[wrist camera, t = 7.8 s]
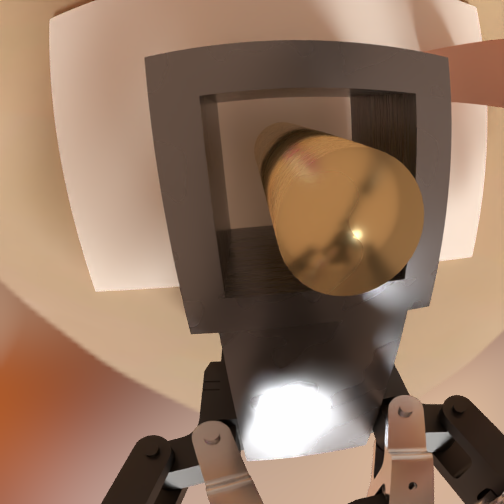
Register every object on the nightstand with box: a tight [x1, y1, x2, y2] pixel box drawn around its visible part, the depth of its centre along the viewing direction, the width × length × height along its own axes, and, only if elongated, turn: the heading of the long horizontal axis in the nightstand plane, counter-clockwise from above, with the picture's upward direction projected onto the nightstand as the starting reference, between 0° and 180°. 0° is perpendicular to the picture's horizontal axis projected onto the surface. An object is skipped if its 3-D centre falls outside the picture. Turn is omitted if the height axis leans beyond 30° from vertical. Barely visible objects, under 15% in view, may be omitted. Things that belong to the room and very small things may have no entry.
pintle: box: [254, 122, 424, 296], centre depth 7 cm, size 2×2×8 cm
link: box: [144, 40, 452, 461], centre depth 9 cm, size 12×6×4 cm, turn 5°
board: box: [49, 0, 487, 292], centre depth 10 cm, size 12×18×1 cm
